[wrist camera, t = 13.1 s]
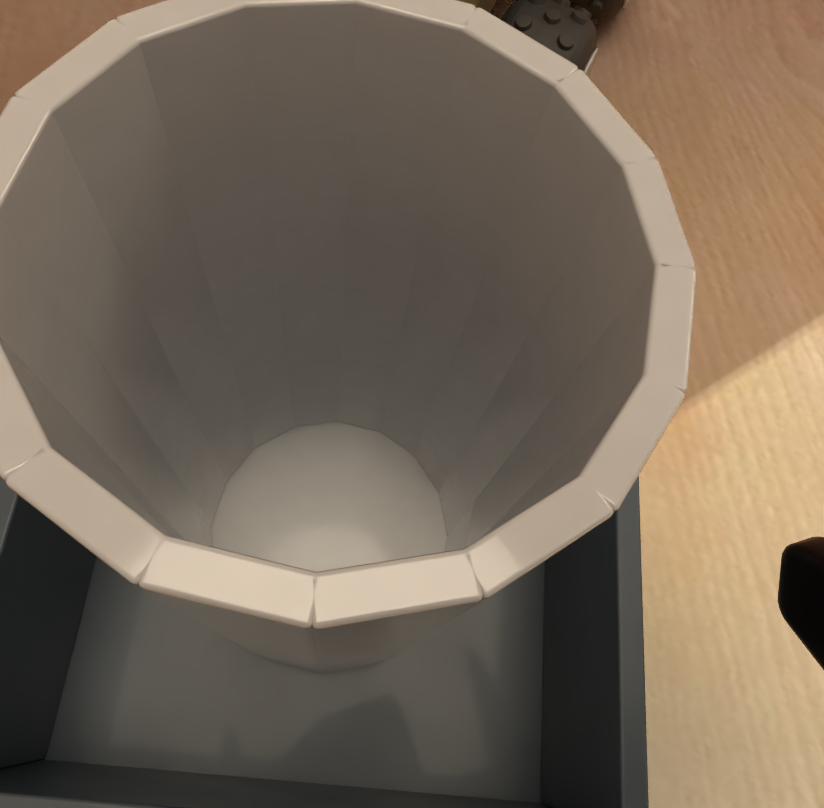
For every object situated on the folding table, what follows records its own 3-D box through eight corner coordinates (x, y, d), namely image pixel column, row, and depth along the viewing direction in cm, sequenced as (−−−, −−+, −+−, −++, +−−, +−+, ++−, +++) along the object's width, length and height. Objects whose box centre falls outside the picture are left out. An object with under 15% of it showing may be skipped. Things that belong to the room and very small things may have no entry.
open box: (553, 825, 17) (652, 882, 12) (26, 780, 16) (-114, 819, 11) (559, 362, 22) (632, 258, 16) (147, 309, 21) (88, 181, 16)
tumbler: (505, 579, 18) (839, 364, 6) (278, 729, 17) (157, 818, 5) (373, 377, 20) (444, -95, 8) (155, 493, 18) (-172, 107, 6)
